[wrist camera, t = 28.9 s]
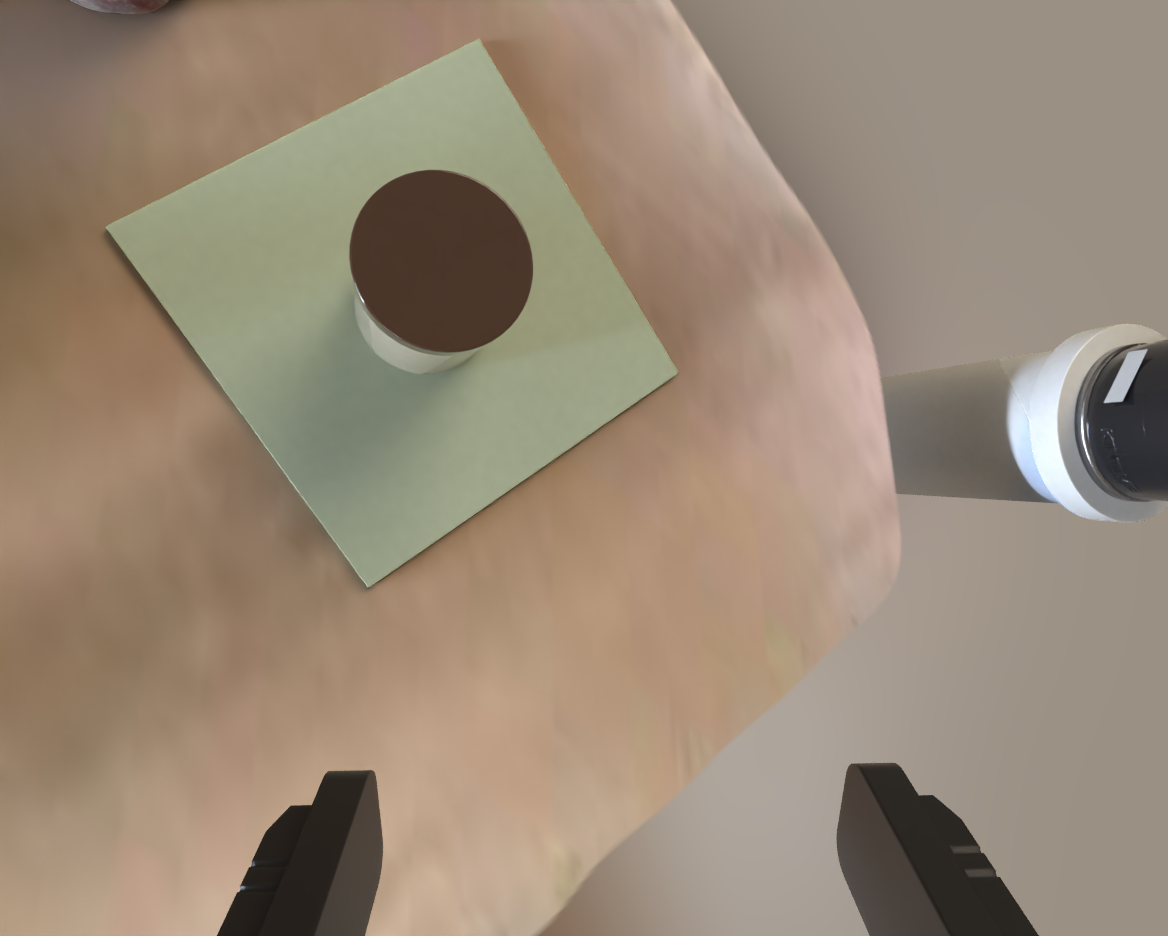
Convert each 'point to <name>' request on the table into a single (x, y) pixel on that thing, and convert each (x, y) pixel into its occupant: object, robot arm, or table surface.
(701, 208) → the table surface
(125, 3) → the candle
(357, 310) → the jar
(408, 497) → the desk mat
